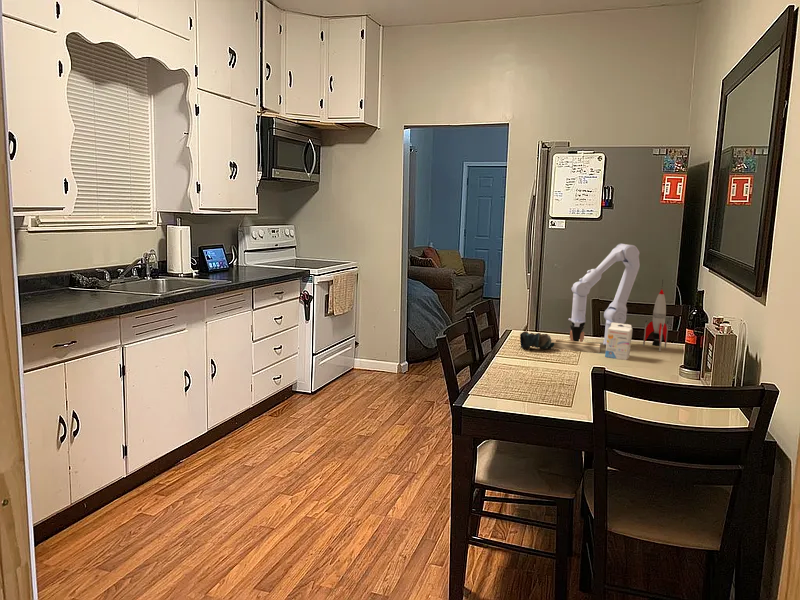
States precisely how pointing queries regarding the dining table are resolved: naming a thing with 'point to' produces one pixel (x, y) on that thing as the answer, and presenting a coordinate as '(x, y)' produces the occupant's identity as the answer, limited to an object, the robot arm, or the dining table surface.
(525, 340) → the figurine
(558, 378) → the dining table surface
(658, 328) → the toy
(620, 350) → the ink box
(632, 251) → the robot arm
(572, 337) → the tall salmon pink block
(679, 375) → the dining table surface
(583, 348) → the rail
